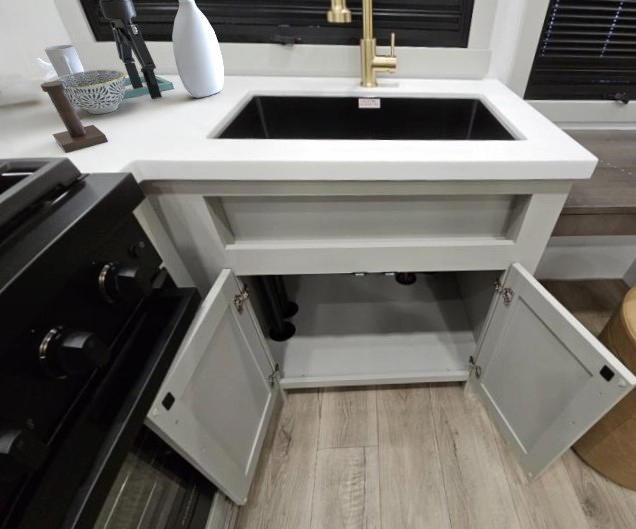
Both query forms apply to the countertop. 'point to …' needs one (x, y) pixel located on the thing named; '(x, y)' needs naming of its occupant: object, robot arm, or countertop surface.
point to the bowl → (95, 89)
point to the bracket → (48, 70)
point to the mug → (64, 59)
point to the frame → (161, 82)
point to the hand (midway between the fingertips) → (147, 92)
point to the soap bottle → (196, 51)
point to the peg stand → (71, 120)
